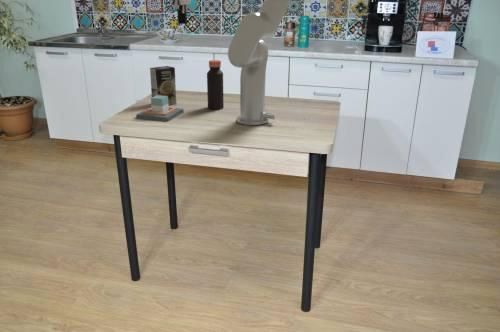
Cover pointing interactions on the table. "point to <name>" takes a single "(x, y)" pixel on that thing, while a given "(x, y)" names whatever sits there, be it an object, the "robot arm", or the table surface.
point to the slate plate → (160, 114)
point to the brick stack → (159, 104)
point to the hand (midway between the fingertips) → (182, 23)
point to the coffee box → (163, 82)
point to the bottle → (215, 85)
